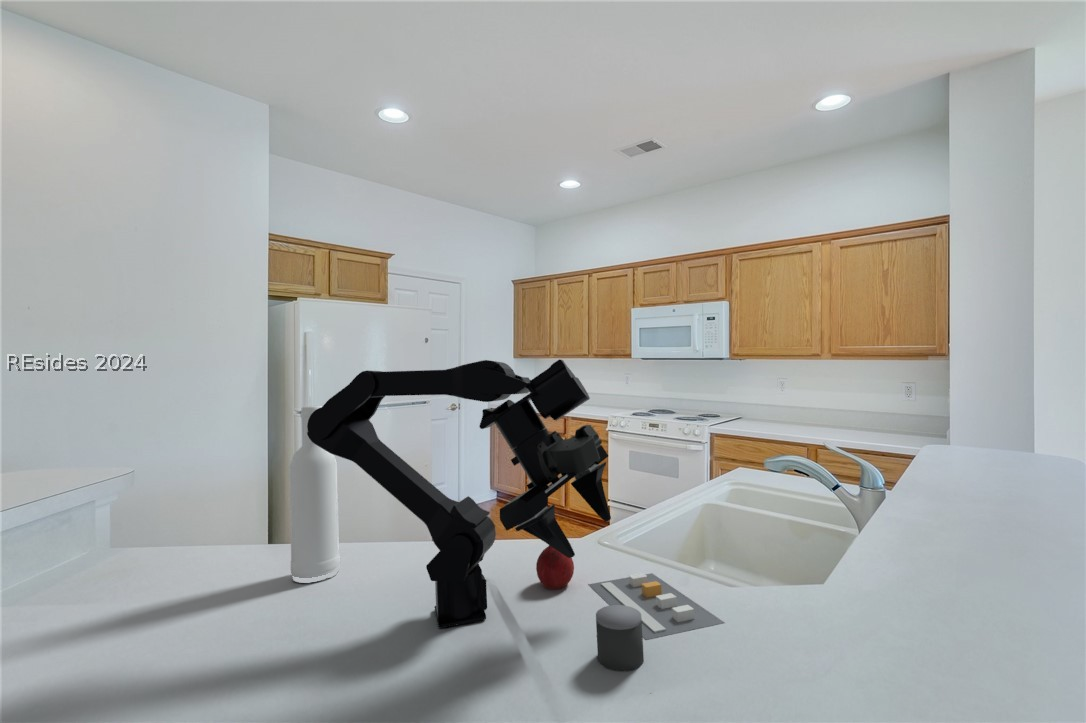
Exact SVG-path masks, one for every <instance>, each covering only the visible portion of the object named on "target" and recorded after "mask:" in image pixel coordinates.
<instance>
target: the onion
mask: <svg viewBox="0 0 1086 723" xmlns="http://www.w3.org/2000/svg"><path fill="white" fill-rule="evenodd" d="M574 565H575V564H574V561H573V557H571V558H568V557H566V556H565V555H563V554H562V553H560V552H559V551H557V550H556V549H554V548H553V547H551V546H550V545H547V547H545V548H544V549H543V550H542V551H541V552H540V554H539V555H538V558H537V561H536V564H535V566H536V567H535V569H536V576H537V578H538V580H539V582H540V583H541V584H542V585H543V586H544V587H545V588H547V589H550V590H559V589H563V588H565V587H566V586H567V585H568V584H569V583H570V582H571V580H572V578H573V575H574V572H575V566H574Z"/></svg>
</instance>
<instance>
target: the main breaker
mask: <svg viewBox="0 0 1086 723" xmlns="http://www.w3.org/2000/svg"><path fill="white" fill-rule="evenodd" d="M642 594H643V595H644V596H646V597H652V596H657V595H662V589H661V584H660V583H658V582H657V581H654V582H649V583H643V584H642Z"/></svg>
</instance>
